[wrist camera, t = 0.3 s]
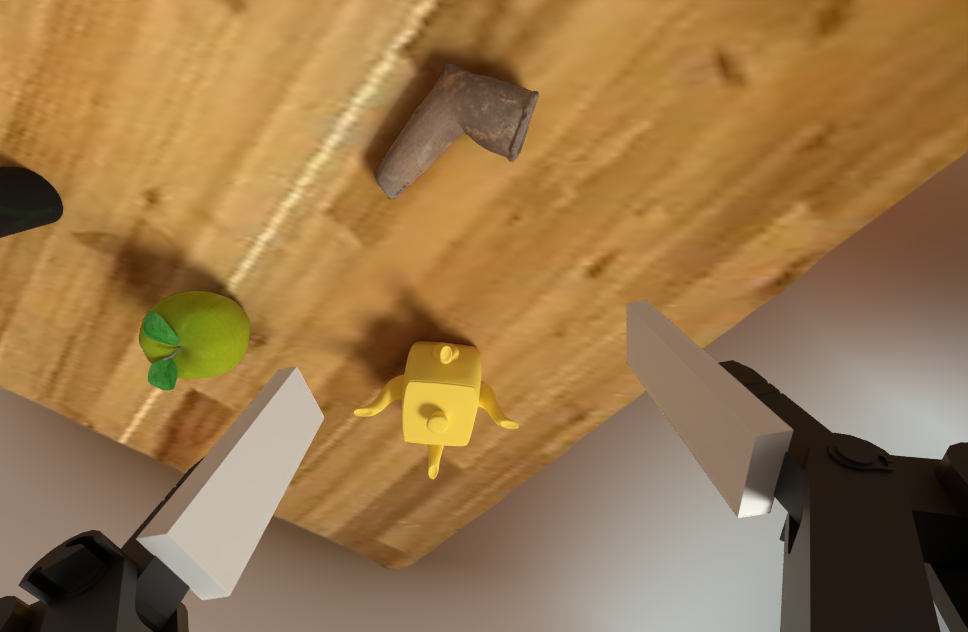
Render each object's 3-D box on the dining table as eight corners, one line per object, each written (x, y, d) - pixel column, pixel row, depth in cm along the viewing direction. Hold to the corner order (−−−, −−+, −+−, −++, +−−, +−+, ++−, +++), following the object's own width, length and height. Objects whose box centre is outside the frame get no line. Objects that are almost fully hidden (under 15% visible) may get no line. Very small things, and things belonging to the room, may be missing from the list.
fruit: (187, 335, 43) (113, 384, 34) (188, 268, 40) (106, 304, 31) (264, 355, 45) (213, 408, 36) (272, 294, 41) (217, 335, 32)
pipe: (349, 172, 32) (430, 250, 33) (473, 4, 27) (561, 106, 28) (375, 175, 38) (443, 240, 39) (481, 38, 33) (553, 121, 34)
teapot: (437, 429, 52) (431, 486, 43) (368, 369, 47) (345, 420, 38) (516, 379, 48) (526, 430, 40) (451, 308, 43) (446, 349, 35)
